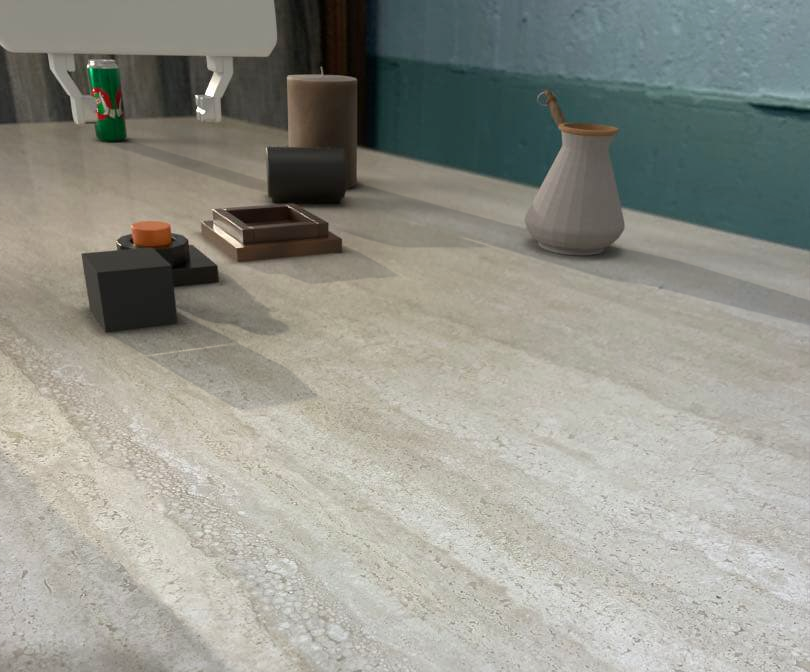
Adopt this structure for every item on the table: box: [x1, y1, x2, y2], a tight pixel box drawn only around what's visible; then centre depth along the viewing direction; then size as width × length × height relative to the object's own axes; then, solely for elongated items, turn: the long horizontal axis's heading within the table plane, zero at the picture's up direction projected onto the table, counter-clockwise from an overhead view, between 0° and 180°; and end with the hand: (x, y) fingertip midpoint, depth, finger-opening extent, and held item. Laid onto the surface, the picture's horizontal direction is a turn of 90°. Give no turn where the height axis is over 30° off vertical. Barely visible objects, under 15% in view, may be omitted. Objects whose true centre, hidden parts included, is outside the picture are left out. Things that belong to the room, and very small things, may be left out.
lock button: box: [130, 220, 172, 246], centre depth 83 cm, size 4×4×2 cm
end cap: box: [265, 145, 347, 204], centre depth 113 cm, size 10×7×7 cm
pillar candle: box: [286, 66, 358, 191], centre depth 121 cm, size 10×10×15 cm
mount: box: [200, 202, 343, 263], centre depth 96 cm, size 12×12×3 cm
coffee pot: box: [524, 88, 626, 256], centre depth 101 cm, size 21×12×15 cm, turn 10°
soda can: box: [86, 58, 128, 143], centre depth 144 cm, size 5×5×12 cm
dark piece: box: [115, 232, 220, 288], centre depth 84 cm, size 10×8×4 cm
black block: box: [81, 247, 179, 334], centre depth 73 cm, size 6×6×5 cm
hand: (149, 122), depth 66 cm, fingers open, 8 cm apart
